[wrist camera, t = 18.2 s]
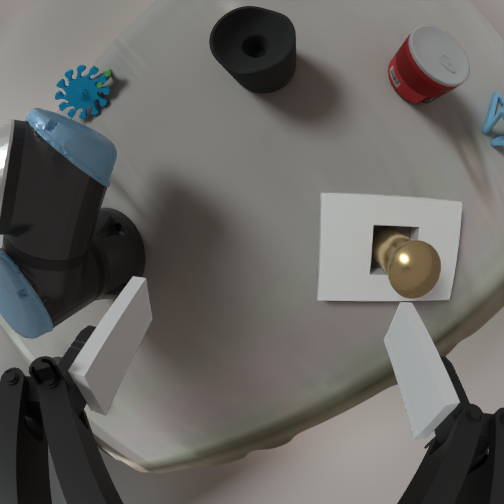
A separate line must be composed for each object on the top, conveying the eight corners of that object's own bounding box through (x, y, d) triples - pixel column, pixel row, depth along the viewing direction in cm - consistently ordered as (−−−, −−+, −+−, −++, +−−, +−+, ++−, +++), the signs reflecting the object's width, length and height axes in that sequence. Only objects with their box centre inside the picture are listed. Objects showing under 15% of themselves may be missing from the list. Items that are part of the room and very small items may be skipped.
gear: (73, 130, 40) (43, 89, 32) (81, 115, 43) (55, 77, 35) (124, 98, 39) (96, 52, 30) (130, 86, 42) (105, 44, 34)
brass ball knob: (364, 266, 39) (386, 299, 27) (366, 223, 37) (391, 241, 26) (403, 266, 38) (436, 297, 26) (406, 224, 36) (443, 241, 25)
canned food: (422, 116, 32) (458, 99, 21) (377, 81, 32) (399, 51, 22) (442, 80, 30) (477, 57, 19) (399, 47, 30) (423, 13, 19)
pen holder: (246, 106, 36) (227, 85, 27) (221, 55, 35) (198, 25, 25) (309, 81, 34) (310, 53, 24) (281, 31, 32) (273, -6, 23)
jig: (317, 291, 41) (317, 300, 38) (320, 191, 37) (321, 193, 35) (441, 292, 37) (449, 299, 34) (452, 200, 34) (462, 201, 31)
